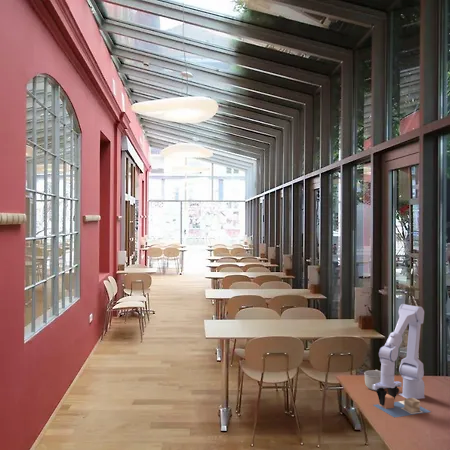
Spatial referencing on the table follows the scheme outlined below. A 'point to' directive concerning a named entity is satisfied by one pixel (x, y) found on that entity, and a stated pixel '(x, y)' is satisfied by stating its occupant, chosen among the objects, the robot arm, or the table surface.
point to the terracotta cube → (388, 402)
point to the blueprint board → (400, 410)
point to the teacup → (372, 378)
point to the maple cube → (412, 405)
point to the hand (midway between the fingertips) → (386, 404)
